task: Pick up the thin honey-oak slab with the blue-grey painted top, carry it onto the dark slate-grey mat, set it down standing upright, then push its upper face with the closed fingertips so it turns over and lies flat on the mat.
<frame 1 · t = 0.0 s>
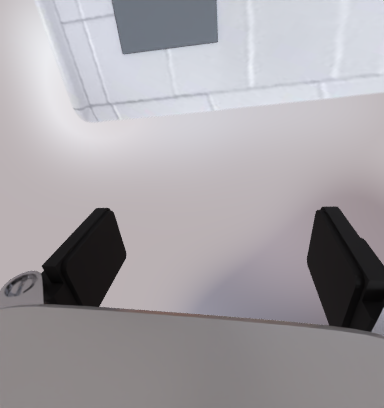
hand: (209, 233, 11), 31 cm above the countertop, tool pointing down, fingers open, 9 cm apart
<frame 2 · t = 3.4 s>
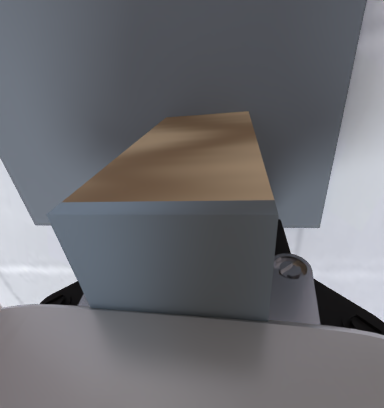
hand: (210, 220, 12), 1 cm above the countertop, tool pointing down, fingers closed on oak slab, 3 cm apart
oak slab: (212, 211, 13), on the countertop, touching gripper
mat: (139, 94, 11), on the countertop
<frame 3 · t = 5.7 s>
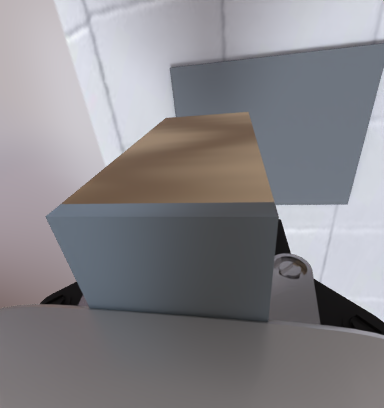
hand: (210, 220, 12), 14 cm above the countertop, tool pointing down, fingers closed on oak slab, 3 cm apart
oak slab: (212, 212, 13), point 13 cm above the countertop, touching gripper
mat: (265, 140, 23), on the countertop
when the fingers open (2 cm above the countertop, at t = 7.9 s): oak slab stays where it is, resting on mat.
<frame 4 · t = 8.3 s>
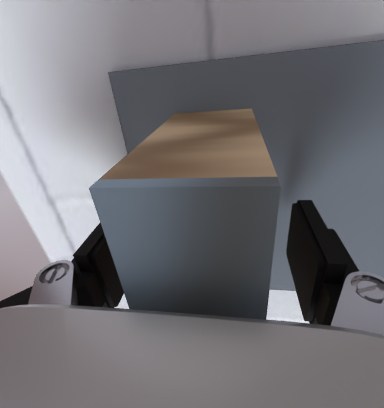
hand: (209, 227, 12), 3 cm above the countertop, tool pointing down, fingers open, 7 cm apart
oak slab: (215, 203, 14), resting on mat
mat: (285, 198, 13), on the countertop
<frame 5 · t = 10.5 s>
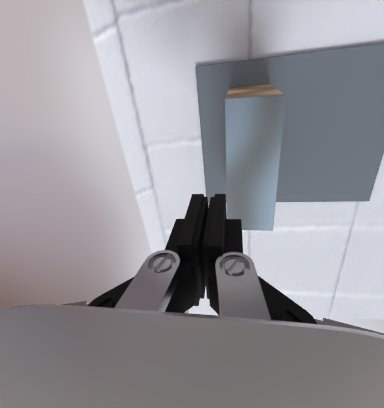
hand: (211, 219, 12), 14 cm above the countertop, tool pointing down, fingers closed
oak slab: (247, 141, 24), resting on mat
mat: (288, 137, 23), on the countertop
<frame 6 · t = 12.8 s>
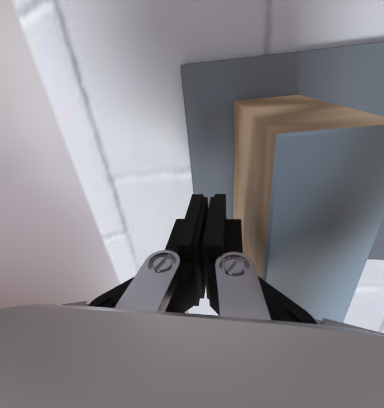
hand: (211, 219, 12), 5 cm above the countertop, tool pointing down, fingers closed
oak slab: (260, 179, 16), point 1 cm above the countertop, tilted 9°, touching mat
mat: (320, 173, 16), on the countertop
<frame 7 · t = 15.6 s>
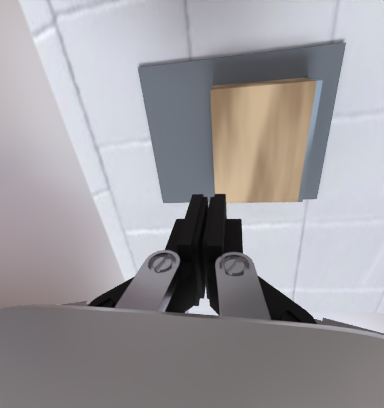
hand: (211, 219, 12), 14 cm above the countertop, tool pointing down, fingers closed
oak slab: (214, 147, 22), point 2 cm above the countertop, tilted 90°, touching mat
mat: (235, 138, 24), on the countertop
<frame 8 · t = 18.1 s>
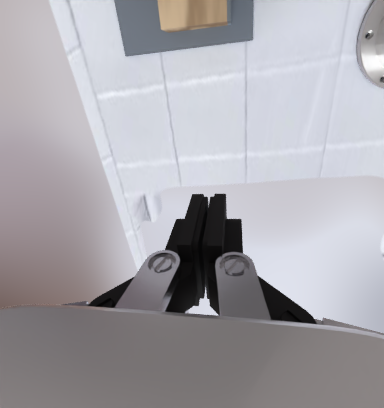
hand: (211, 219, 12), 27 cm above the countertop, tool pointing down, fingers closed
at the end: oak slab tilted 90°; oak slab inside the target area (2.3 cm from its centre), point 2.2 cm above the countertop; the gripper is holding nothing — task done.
